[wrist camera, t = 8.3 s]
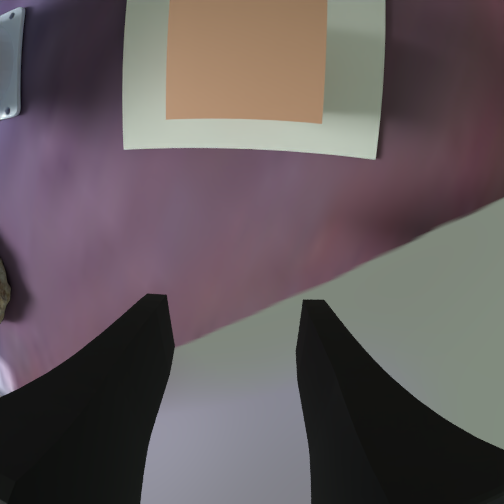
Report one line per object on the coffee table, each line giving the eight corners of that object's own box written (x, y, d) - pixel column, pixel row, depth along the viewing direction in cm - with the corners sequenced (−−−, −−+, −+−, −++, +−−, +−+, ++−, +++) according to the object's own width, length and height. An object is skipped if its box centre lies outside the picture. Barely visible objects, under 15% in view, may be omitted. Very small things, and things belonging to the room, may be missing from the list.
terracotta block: (207, 109, 16) (165, 119, 8) (210, 30, 14) (171, -19, 6) (293, 112, 16) (321, 123, 8) (296, 33, 14) (327, -17, 6)
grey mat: (127, 147, 17) (123, 149, 17) (135, -39, 12) (132, -42, 11) (372, 157, 17) (375, 159, 17) (380, -31, 12) (384, -34, 11)
